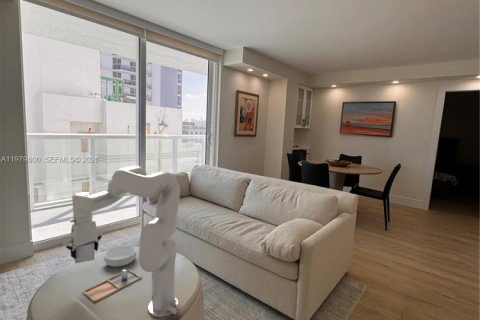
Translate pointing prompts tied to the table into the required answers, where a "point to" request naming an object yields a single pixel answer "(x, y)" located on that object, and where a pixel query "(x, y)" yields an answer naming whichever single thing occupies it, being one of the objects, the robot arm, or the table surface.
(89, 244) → the medicine box
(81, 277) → the table surface
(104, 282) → the board
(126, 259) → the cereal bowl
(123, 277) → the peg
